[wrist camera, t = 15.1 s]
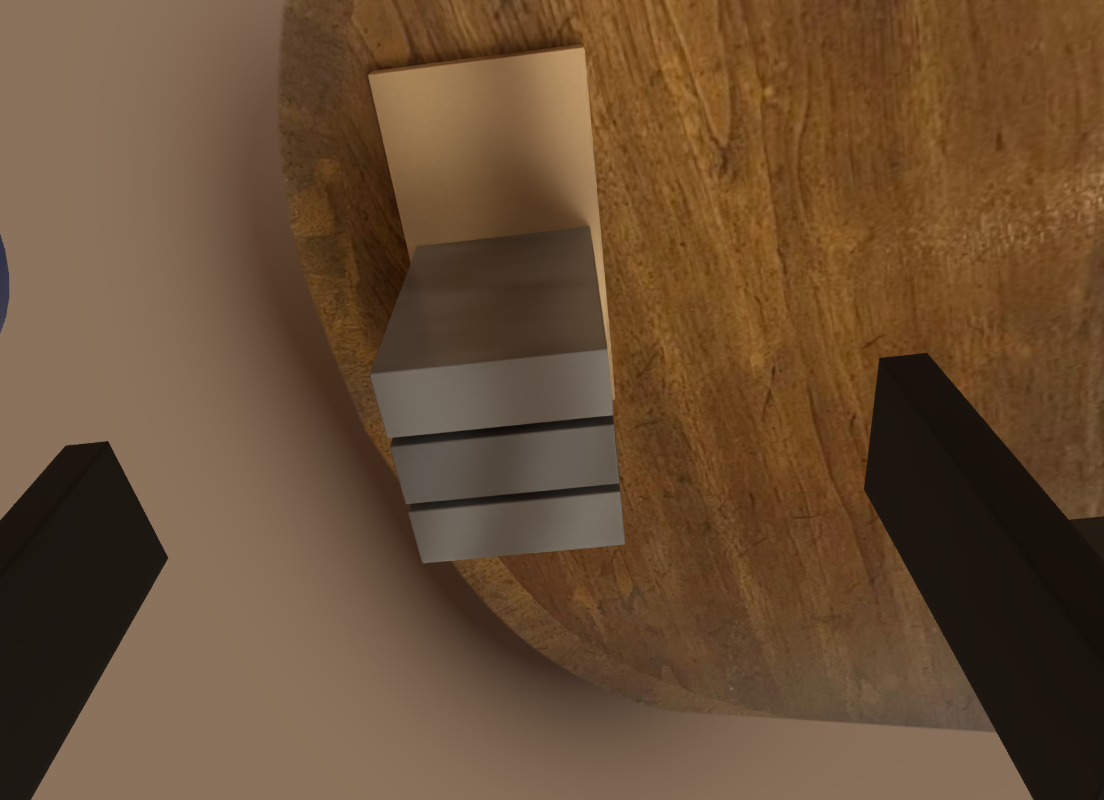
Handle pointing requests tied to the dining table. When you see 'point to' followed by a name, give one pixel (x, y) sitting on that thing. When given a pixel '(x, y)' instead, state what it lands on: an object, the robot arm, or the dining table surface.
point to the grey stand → (498, 308)
